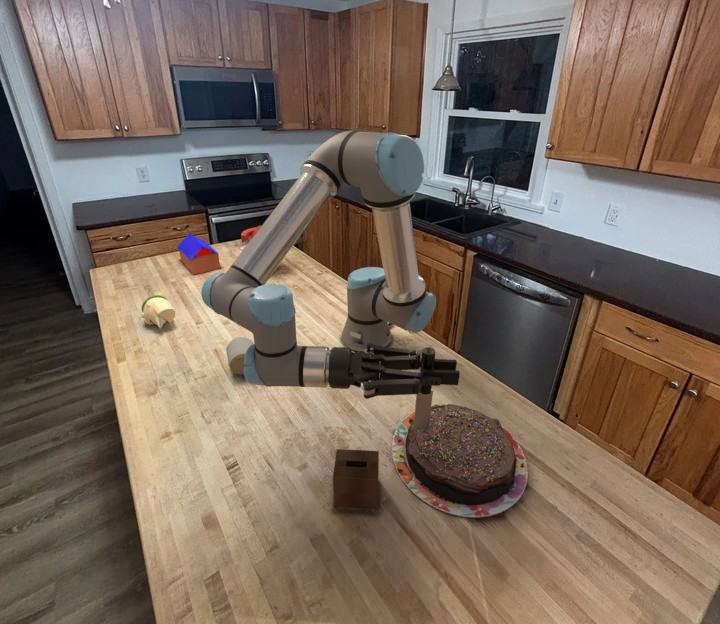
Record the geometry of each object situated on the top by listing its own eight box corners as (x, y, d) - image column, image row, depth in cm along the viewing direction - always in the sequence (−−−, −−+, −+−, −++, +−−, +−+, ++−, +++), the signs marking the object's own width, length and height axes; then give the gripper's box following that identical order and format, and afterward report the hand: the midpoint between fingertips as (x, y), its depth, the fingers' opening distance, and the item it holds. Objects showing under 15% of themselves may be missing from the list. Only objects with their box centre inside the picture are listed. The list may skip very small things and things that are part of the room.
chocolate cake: (388, 406, 96) (389, 385, 93) (503, 409, 95) (507, 388, 92) (394, 520, 70) (395, 495, 67) (550, 525, 69) (558, 501, 67)
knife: (413, 433, 77) (420, 354, 69) (413, 424, 79) (419, 346, 71) (429, 434, 76) (438, 355, 68) (427, 424, 79) (436, 347, 71)
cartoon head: (164, 341, 124) (145, 315, 138) (187, 320, 127) (166, 296, 140) (143, 327, 118) (126, 301, 132) (168, 305, 121) (148, 281, 134)
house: (193, 275, 163) (188, 249, 158) (180, 260, 177) (175, 236, 172) (221, 268, 170) (217, 243, 165) (206, 254, 184) (202, 230, 179)
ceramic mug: (231, 379, 104) (227, 356, 101) (227, 361, 111) (224, 339, 108) (270, 370, 108) (268, 347, 105) (265, 353, 115) (263, 331, 112)
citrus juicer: (235, 270, 168) (229, 225, 160) (270, 259, 179) (266, 217, 170) (253, 281, 158) (247, 235, 149) (289, 269, 168) (286, 225, 160)
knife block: (334, 510, 72) (332, 477, 68) (337, 481, 77) (336, 448, 73) (377, 513, 71) (378, 479, 68) (377, 483, 77) (378, 450, 73)
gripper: (334, 358, 81) (448, 362, 80) (324, 413, 67) (462, 419, 66) (334, 327, 78) (452, 331, 77) (323, 379, 64) (468, 385, 63)
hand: (456, 372), depth 71 cm, fingers closed on knife, 2 cm apart
